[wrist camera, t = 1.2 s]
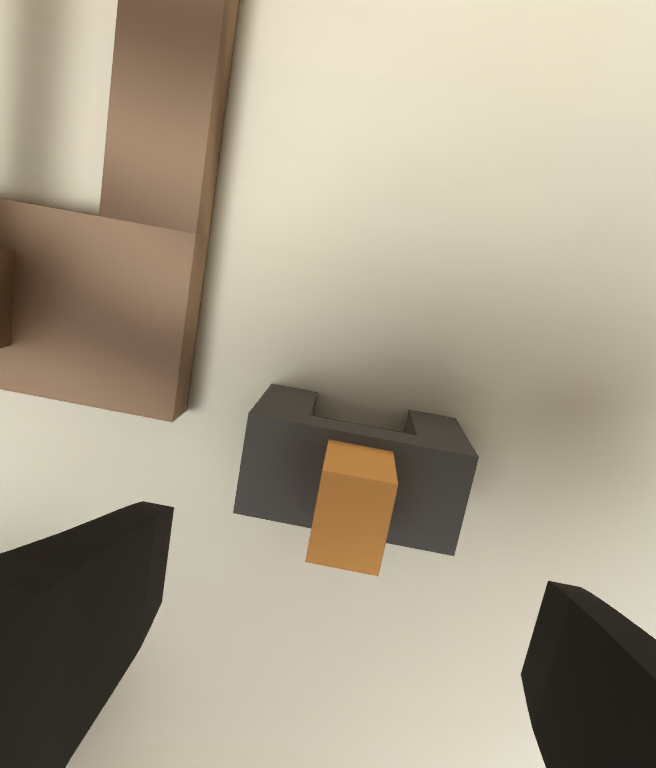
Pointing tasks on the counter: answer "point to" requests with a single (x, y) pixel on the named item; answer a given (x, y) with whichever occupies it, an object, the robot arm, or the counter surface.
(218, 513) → the counter surface
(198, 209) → the brown wooden frame
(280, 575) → the counter surface
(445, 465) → the clip
